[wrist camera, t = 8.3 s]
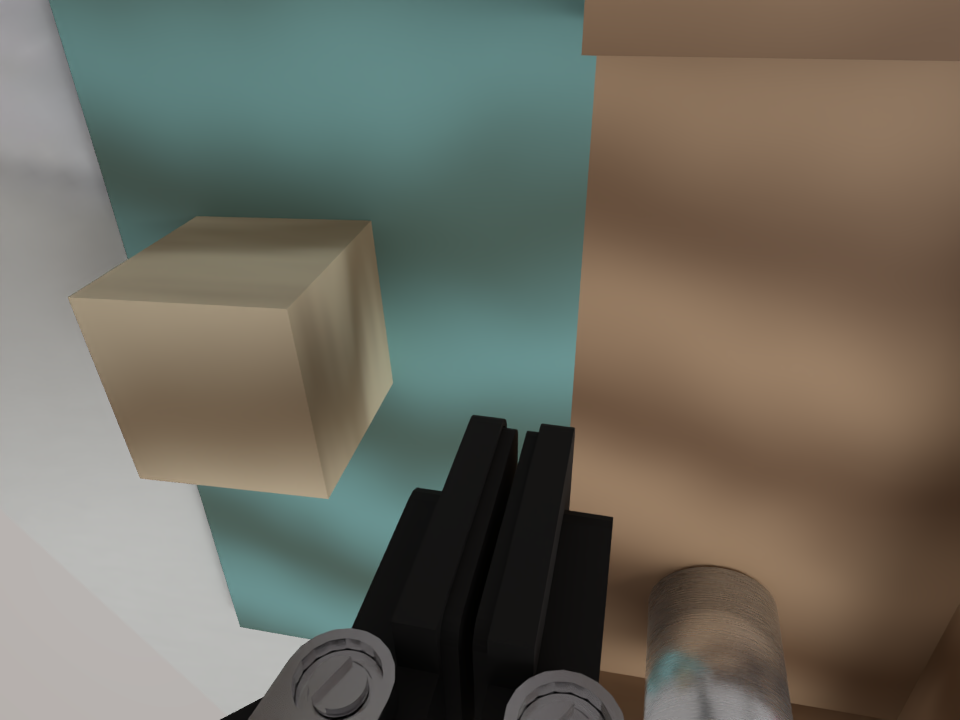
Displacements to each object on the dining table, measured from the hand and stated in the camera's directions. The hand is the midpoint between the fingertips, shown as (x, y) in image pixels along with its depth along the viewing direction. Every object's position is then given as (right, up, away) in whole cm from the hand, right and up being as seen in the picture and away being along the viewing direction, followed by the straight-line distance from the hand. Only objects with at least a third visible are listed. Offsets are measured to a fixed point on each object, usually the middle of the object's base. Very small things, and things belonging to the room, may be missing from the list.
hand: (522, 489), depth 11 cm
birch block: (-6, +4, +8) cm, 11 cm away
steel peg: (+7, -6, +11) cm, 14 cm away
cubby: (+2, +1, +9) cm, 10 cm away
